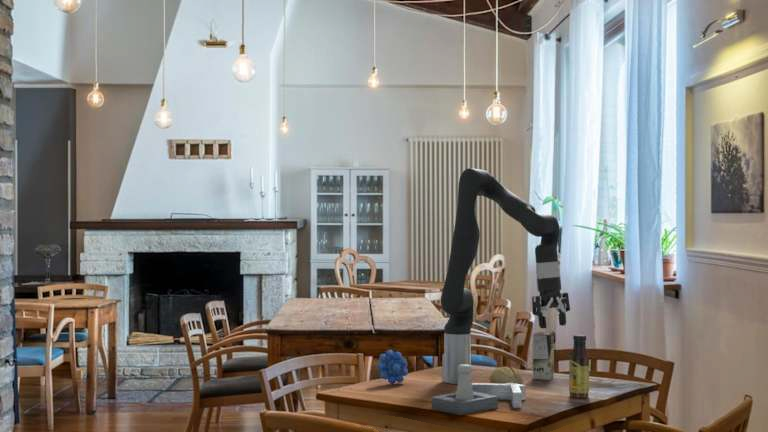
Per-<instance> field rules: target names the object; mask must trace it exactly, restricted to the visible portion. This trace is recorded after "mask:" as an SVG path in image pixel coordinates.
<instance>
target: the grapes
mask: <svg viewBox="0 0 768 432" xmlns="http://www.w3.org/2000/svg"><path fill="white" fill-rule="evenodd" d="M376 367H377V369H378V371H380V378H381V379H382V380H387V382H388V383H389V384H391V385H394V384H396V382H397V383H400V384H401V383H403V381H404V377H407V376H408V374H409V371H408V368H406V367H408V361H407V359H405V358H403V355H402V353H401V352H400V351H395V352H394V350H392V349H387V350H386V351H385V353H381V354H380V355H379V362H378V363H377V365H376Z"/></svg>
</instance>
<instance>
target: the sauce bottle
mask: <svg viewBox="0 0 768 432" xmlns="http://www.w3.org/2000/svg"><path fill="white" fill-rule="evenodd" d="M572 339H573V348H572V350H571V351H572V352H571V354H570V356H569V367H568V369H569V371H568V373H569V374H568V375H569V376H568V380H569V381H568V382H569V383H568V391H569V396H570V397H572V398H574V397H575V398H576V399H584V398H585V397H587V398H588V397H589V394H590V393H589V392H590V356H589V354H588V352H587V350H586V349H587V348H586V346H587V345H586V341H587V335H586V334H580V333H578V334H577V333H576V334H573V337H572ZM585 399H586V398H585Z"/></svg>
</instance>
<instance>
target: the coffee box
mask: <svg viewBox="0 0 768 432" xmlns="http://www.w3.org/2000/svg"><path fill="white" fill-rule="evenodd" d="M554 339H555V332H548V331H547V332H546V331H545V332H543V331H538V332H535V333H533V334H532V379H533V380H544V381H550V380H551V379H552V378H554V376H555V373H554V372H555V371H554V370H555V364H554V363H555V356H554V355H555V351H554V350H555V348H554V347H555V345H554V344H555V342H554V341H555V340H554Z"/></svg>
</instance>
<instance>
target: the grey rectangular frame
mask: <svg viewBox="0 0 768 432" xmlns="http://www.w3.org/2000/svg"><path fill="white" fill-rule="evenodd" d="M473 395H474V399H471V400H465V401H464V400H460V399H455V397H456V392H452V393H447V394H446V393H445V394H440V395H435V396H431V403H430V404H431V405H430V407H431V409H432V410H435V411H440V412H443V413H444V412H445V413H447V414H453V415H456V416H464V415H468V414H474V413H480V412H485V411H490V410H494V409H498V408H499V399H498V396H494V395H489V394H484V393H479V392H474V391H473Z"/></svg>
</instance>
